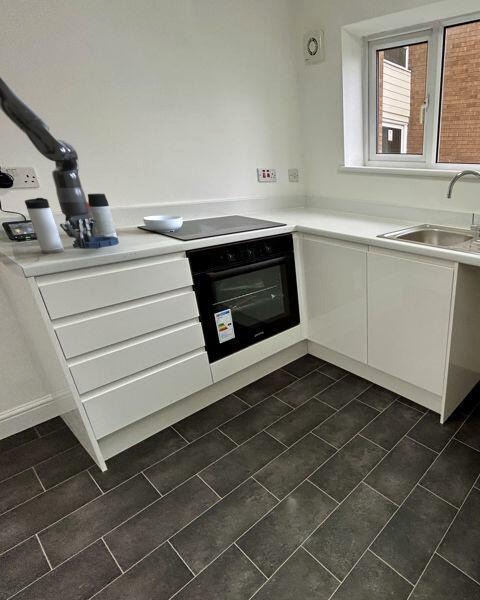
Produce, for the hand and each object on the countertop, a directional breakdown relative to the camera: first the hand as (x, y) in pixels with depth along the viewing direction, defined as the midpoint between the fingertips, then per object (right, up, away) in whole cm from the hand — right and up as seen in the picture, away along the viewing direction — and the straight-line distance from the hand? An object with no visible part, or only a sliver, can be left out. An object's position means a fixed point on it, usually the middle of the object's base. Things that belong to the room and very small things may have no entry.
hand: (85, 247), depth 132 cm
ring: (0, +2, +5) cm, 6 cm away
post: (-10, +3, +16) cm, 19 cm away
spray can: (-13, +7, +26) cm, 30 cm away
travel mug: (-17, -1, +5) cm, 18 cm away
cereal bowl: (-2, +15, +48) cm, 51 cm away
